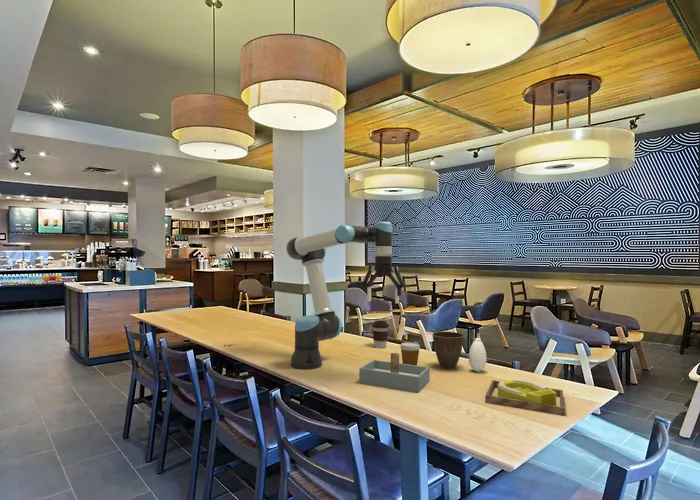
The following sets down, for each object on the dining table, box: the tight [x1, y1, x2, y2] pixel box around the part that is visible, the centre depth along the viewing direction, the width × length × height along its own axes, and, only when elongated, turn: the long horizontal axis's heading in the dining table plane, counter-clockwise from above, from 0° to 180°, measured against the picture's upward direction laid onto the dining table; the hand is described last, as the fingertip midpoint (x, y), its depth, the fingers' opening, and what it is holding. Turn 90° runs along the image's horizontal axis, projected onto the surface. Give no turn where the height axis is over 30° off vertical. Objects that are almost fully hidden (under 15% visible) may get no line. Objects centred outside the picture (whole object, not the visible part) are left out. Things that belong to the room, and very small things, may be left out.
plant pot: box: [431, 331, 465, 370], centre depth 197 cm, size 15×15×16 cm
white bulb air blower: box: [468, 334, 487, 373], centre depth 190 cm, size 8×8×18 cm
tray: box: [358, 359, 431, 393], centre depth 173 cm, size 26×16×6 cm, turn 64°
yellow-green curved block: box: [497, 378, 557, 406], centre depth 154 cm, size 16×21×5 cm
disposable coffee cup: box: [399, 342, 421, 366], centre depth 191 cm, size 10×10×12 cm
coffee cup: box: [371, 320, 390, 349], centre depth 238 cm, size 10×10×15 cm
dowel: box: [390, 352, 400, 373], centre depth 173 cm, size 4×4×12 cm
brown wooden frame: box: [484, 379, 565, 416], centre depth 154 cm, size 26×21×2 cm
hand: (382, 302), depth 184 cm, fingers open, 13 cm apart
